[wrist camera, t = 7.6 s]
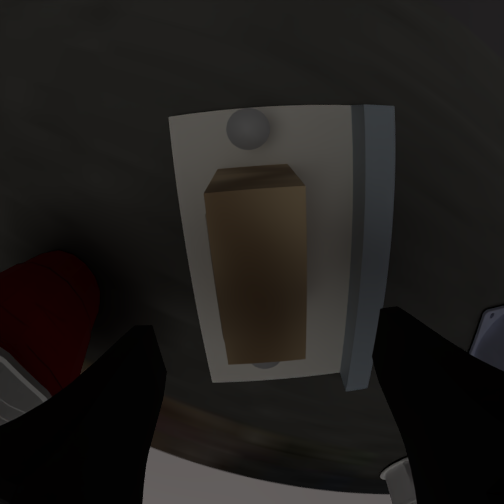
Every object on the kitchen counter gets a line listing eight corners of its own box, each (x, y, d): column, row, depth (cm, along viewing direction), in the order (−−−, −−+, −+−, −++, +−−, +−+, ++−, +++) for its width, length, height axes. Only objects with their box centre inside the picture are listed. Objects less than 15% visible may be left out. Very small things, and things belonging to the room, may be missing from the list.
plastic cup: (119, 367, 23) (71, 494, 12) (11, 309, 21) (-67, 404, 10) (158, 256, 19) (78, 409, 8) (22, 190, 17) (-111, 268, 6)
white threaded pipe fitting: (378, 464, 31) (396, 530, 22) (430, 444, 30) (454, 507, 21) (380, 482, 34) (394, 538, 25) (425, 465, 33) (443, 519, 24)
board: (372, 106, 16) (403, 106, 12) (356, 360, 23) (371, 397, 19) (172, 117, 16) (152, 117, 12) (213, 373, 23) (209, 413, 20)
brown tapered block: (287, 163, 16) (305, 185, 11) (292, 298, 19) (305, 359, 14) (214, 169, 16) (199, 193, 11) (230, 302, 20) (225, 364, 14)
